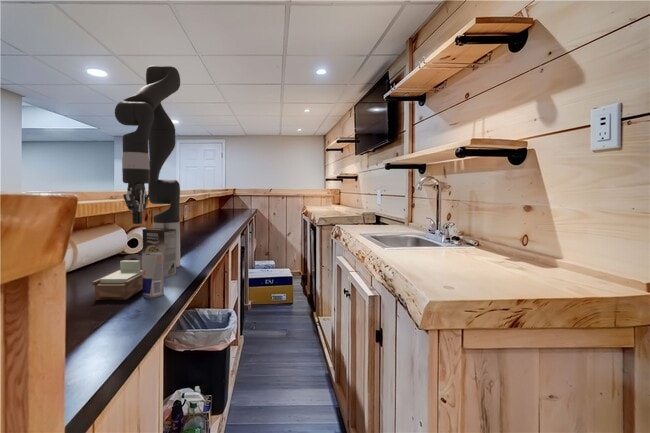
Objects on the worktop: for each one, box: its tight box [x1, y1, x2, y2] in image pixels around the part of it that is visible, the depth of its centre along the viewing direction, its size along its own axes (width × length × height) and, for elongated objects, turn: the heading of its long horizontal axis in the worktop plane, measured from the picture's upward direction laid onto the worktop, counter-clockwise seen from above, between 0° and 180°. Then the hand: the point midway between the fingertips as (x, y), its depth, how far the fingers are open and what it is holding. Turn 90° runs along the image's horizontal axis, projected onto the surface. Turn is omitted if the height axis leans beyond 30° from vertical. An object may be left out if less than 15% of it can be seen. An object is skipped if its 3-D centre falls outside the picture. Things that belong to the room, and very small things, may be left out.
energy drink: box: [141, 252, 165, 299], centre depth 102 cm, size 5×5×12 cm
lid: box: [99, 259, 142, 283], centre depth 104 cm, size 11×7×4 cm, turn 4°
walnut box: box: [91, 269, 143, 301], centre depth 104 cm, size 14×9×5 cm, turn 4°
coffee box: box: [142, 227, 177, 278], centre depth 126 cm, size 9×6×16 cm
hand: (137, 223), depth 113 cm, fingers closed
